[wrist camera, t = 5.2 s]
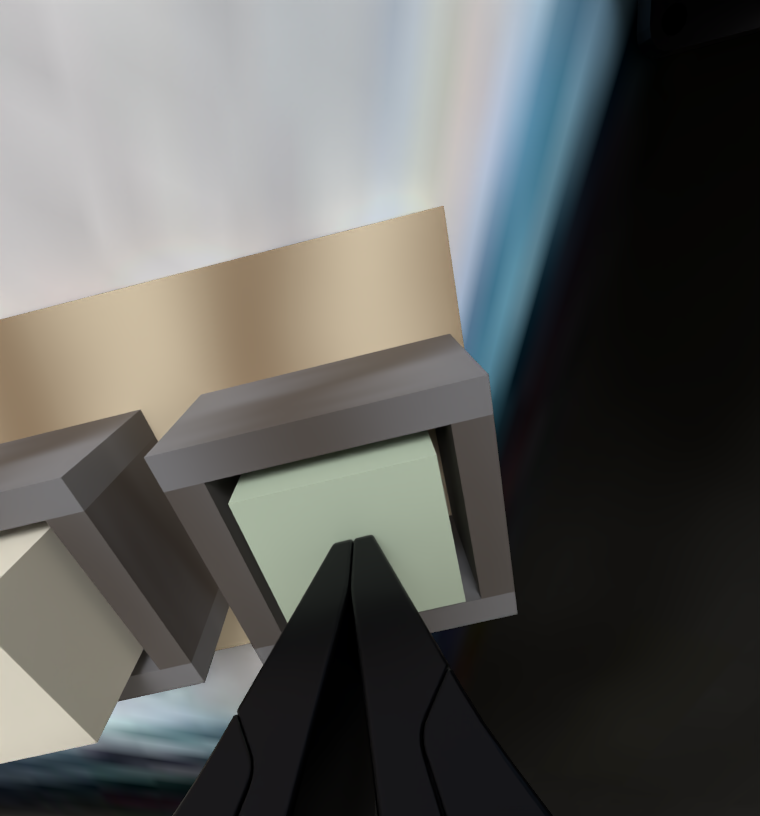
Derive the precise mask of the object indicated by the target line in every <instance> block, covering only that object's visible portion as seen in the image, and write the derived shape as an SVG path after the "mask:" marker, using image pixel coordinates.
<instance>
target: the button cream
mask: <svg viewBox="0 0 760 816" xmlns="http://www.w3.org/2000/svg"><path fill="white" fill-rule="evenodd" d="M142 651H143V647H142V646H141V645H140V643H139V642H138V641H137V640H136V638H135V637H134V636H133V634H132V633H131V632H130V630H129V629H128V628H127V626H126V625H125V624H124V623H123V621H122V620H121V619H120V617H119V616H118V615H117V613H116V612H115V611H114V610H113V608H112V607H111V606H110V604H109V603H108V602H107V600H106V599H105V598H104V597H103V595H102V594H101V593H100V591H99V590H98V589H97V587H96V586H95V585H94V583H93V582H92V581H91V580H90V578H89V577H88V576H87V574H86V573H85V572H84V570H83V569H82V568H81V567H80V565H79V564H78V563H77V561H76V560H75V559H74V557H73V556H72V555H71V554H70V552H69V551H68V550H67V548H66V547H65V546H64V544H63V543H62V542H61V540H60V539H59V538H58V537H57V535H56V534H55V533H54V531H53V530H52V529H51V527H50V526H49V525H48V524H47V522H46V521H41V522H37V523H32V524H28V525H24V526H20V527H16V528H11V529H7V530H3V531H0V764H1V763H6V762H10V761H15V760H20V759H24V758H29V757H34V756H38V755H43V754H47V753H52V752H57V751H61V750H66V749H71V748H75V747H80V746H85V745H89V744H94V743H97V742H98V740H99V738H100V736H101V734H102V732H103V730H104V728H105V726H106V724H107V722H108V720H109V718H110V716H111V714H112V712H113V710H114V708H115V706H116V704H117V702H118V700H119V698H120V696H121V694H122V692H123V689H124V687H125V685H126V683H127V681H128V679H129V677H130V675H131V673H132V671H133V669H134V667H135V665H136V663H137V661H138V659H139V657H140V655H141V653H142Z"/></svg>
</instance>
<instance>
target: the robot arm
mask: <svg viewBox="0 0 760 816" xmlns="http://www.w3.org/2000/svg"><path fill="white" fill-rule="evenodd" d="M664 13H668V14H669V15H670V17H671V18H672V24H673V26H672V30H671V34H670V35H666V33H665V32H664V31H663V28H662V20H663V16H664ZM756 32H760V0H638V13H637V42H638V47H639V49H640V50H641V52H642V54H643V55H645V56H647V57H648V58H662V57H666V56H669V55H673V54H677V53H681V52H685V51H688V50H692V49H696V48H700V47H703V46H707V45H711V44H715V43H718V42H722V41H726V40H730V39H734V38H737V37H741V36H745V35H749V34H752V33H756ZM237 713H238V715H235V716H233V718H232V720H231V722H230V723H229V725H228V727H227V729H226V730H225V732H224V734H223V735H222V737H221V739H220V741H219V742H218V744H217V746H216V747H215V749H214V751H213V752H212V754H211V756H210V757H209V759H208V761H207V762H206V764H205V766H204V767H203V769H202V771H201V772H200V774H199V776H198V777H197V779H196V780H195V782H194V784H193V785H192V787H191V788H190V790H189V791H188V793H187V794H186V796H185V798H184V799H183V801H182V802H181V804H180V805H179V807H178V808H177V810H176V811H175V813H174V814H173V816H375V798H376V806H377V815H378V816H553V815H552V814H551V813H550V811H549V810H548V809H547V807H546V806H545V805H544V803H543V802H542V801H541V799H540V798H539V797H538V795H537V794H536V793H535V791H534V790H533V789H532V787H531V786H530V785H529V783H528V782H527V781H526V779H525V778H524V777H523V775H522V774H521V773H520V772H519V770H518V769H517V768H516V766H515V765H514V764H513V762H512V761H511V759H510V758H509V757H508V755H507V754H506V752H505V751H504V750H503V748H502V747H501V745H500V744H499V743H498V741H497V740H496V738H495V737H494V736H493V734H492V733H491V731H490V730H489V728H488V727H487V726H486V724H485V723H484V721H483V720H482V718H481V716H480V715H479V713H478V712H477V710H476V708H475V707H474V705H473V704H472V702H471V700H470V699H469V697H468V696H467V694H466V692H465V691H464V689H463V687H462V686H461V684H460V682H459V681H458V679H457V677H456V675H455V674H454V672H453V670H451V669H450V666H449V664H448V662H447V660H446V659H445V657H444V655H443V654H442V652H441V650H440V648H439V647H438V645H437V643H436V642H435V640H434V638H433V636H432V635H431V633H430V631H429V630H428V628H427V626H426V624H425V623H424V621H423V619H422V618H421V616H420V614H419V612H418V611H417V609H416V607H415V606H414V604H413V602H412V600H411V599H410V597H409V595H408V594H407V592H406V590H405V588H404V587H403V585H402V583H401V582H400V580H399V578H398V576H397V575H396V573H395V571H394V570H393V568H392V566H391V564H390V563H389V561H388V559H387V558H386V556H385V554H384V552H383V551H382V549H381V547H380V546H379V544H378V542H377V540H376V539H375V537H374V536H373V535H366V536H362V537H358V538H355V540H354V541H353V540H351V539H349V540H345V541H340V542H336V543H334V544H333V545H332V547H331V548H330V550H329V552H328V554H327V555H326V557H325V559H324V561H323V562H322V564H321V566H320V567H319V569H318V571H317V573H316V574H315V576H314V578H313V580H312V581H311V583H310V585H309V587H308V588H307V590H306V592H305V594H304V595H303V597H302V599H301V600H300V602H299V604H298V606H297V607H296V609H295V611H294V613H293V614H292V616H291V618H290V620H289V621H288V623H287V625H286V626H285V628H284V630H283V632H282V633H281V635H280V637H279V639H278V640H277V642H276V644H275V646H274V647H273V649H272V651H271V653H270V654H269V656H268V658H267V659H266V661H265V663H264V665H263V666H262V668H261V670H260V672H259V673H258V675H257V677H256V679H255V680H254V682H253V684H252V685H251V687H250V689H249V691H248V692H247V694H246V696H245V698H244V699H243V701H242V703H241V705H240V706H239V708H238V710H237Z"/></svg>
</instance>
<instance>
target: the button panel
mask: <svg viewBox="0 0 760 816" xmlns="http://www.w3.org/2000/svg"><path fill="white" fill-rule="evenodd" d="M425 430H427V431H428V434H429V436H430V439H431V442H432V444H433V447H434V449H435V452H436V455H437V459H438V464H439V469H440V474H441V480H442V485H443V490H444V495H445V500H446V505H447V510H448V515H449V520H450V525H451V530H452V535H453V540H454V545H455V550H456V555H457V560H458V565H459V570H460V575H461V580H462V585H463V590H464V595H465V600H466V602H461V603H457V604H452V605H448V606H443V607H439V608H434V609H430V610H425V611H421V612H419V614H420V616H421V618H422V619H423V621H424V623H425V624H426V626H427V628H428V630H429V631H430V633H433V632H437V631H442V630H447V629H451V628H456V627H460V626H465V625H469V624H474V623H479V622H483V621H488V620H492V619H497V618H501V617H506V616H511V615H515V614H517V606H516V598H515V590H514V582H513V573H512V565H511V557H510V548H509V540H508V532H507V523H506V515H505V507H504V499H503V490H502V482H501V474H500V465H499V457H498V449H497V440H496V432H495V424H494V416H493V407H492V399H491V391H490V382H489V375H488V373H487V372H486V371H485V370H484V369H483V368H482V367H481V366H480V365H479V364H478V363H477V362H476V361H475V360H474V359H473V358H472V357H471V356H470V354H469V353H468V352H467V351H466V350H465V349H464V344H463V337H462V330H461V323H460V316H459V309H458V302H457V295H456V288H455V281H454V274H453V267H452V260H451V254H450V247H449V240H448V233H447V226H446V219H445V212H444V206H441V207H437V208H433V209H429V210H425V211H421V212H417V213H414V214H410V215H406V216H402V217H398V218H394V219H390V220H386V221H382V222H378V223H375V224H371V225H367V226H363V227H359V228H355V229H351V230H347V231H343V232H340V233H336V234H332V235H328V236H324V237H320V238H316V239H312V240H308V241H305V242H301V243H297V244H293V245H289V246H285V247H281V248H277V249H273V250H270V251H266V252H262V253H258V254H254V255H250V256H246V257H242V258H238V259H234V260H231V261H227V262H223V263H219V264H215V265H211V266H207V267H203V268H199V269H196V270H192V271H188V272H184V273H180V274H176V275H172V276H168V277H164V278H161V279H157V280H153V281H149V282H145V283H141V284H137V285H133V286H129V287H126V288H122V289H118V290H114V291H110V292H106V293H102V294H98V295H94V296H90V297H87V298H83V299H79V300H75V301H71V302H67V303H63V304H59V305H55V306H52V307H48V308H44V309H40V310H36V311H32V312H28V313H24V314H20V315H17V316H13V317H9V318H5V319H1V320H0V531H3V530H7V529H11V528H16V527H20V526H24V525H28V524H32V523H37V522H41V521H46V522H47V524H48V525H49V526H50V527H51V529H52V530H53V531H54V533H55V534H56V535H57V537H58V538H59V539H60V540H61V542H62V543H63V544H64V546H65V547H66V548H67V550H68V551H69V552H70V554H71V555H72V556H73V557H74V559H75V560H76V561H77V563H78V564H79V565H80V567H81V568H82V569H83V570H84V572H85V573H86V574H87V576H88V577H89V578H90V580H91V581H92V582H93V583H94V585H95V586H96V587H97V589H98V590H99V591H100V593H101V594H102V595H103V597H104V598H105V599H106V600H107V602H108V603H109V604H110V606H111V607H112V608H113V610H114V611H115V612H116V613H117V615H118V616H119V617H120V619H121V620H122V621H123V623H124V624H125V625H126V626H127V628H128V629H129V630H130V632H131V633H132V634H133V636H134V637H135V638H136V640H137V641H138V642H139V643H140V645H141V646H142V647H143V651H142V653H141V655H140V657H139V659H138V661H137V663H136V665H135V667H134V669H133V671H132V673H131V675H130V677H129V679H128V681H127V683H126V685H125V687H124V689H123V692H122V694H121V696H120V698H119V700H118V701H122V700H127V699H131V698H136V697H140V696H145V695H149V694H154V693H159V692H163V691H168V690H172V689H177V688H181V687H186V686H191V685H195V684H200V683H204V682H205V680H206V677H207V674H208V671H209V668H210V665H211V662H212V659H213V655H214V652H215V651H217V650H222V649H226V648H231V647H235V646H240V645H244V644H249V643H251V644H252V646H253V648H254V649H255V651H256V653H257V654H258V656H259V658H260V660H261V661H262V663H263V665H264V663H265V661H266V659H267V658H268V656H269V654H270V653H271V651H272V649H273V647H274V646H275V644H276V642H277V640H278V639H279V637H280V635H281V633H282V632H283V630H284V628H285V626H286V625H287V621H286V619H285V617H284V615H283V613H282V611H281V609H280V607H279V605H278V603H277V601H276V599H275V597H274V595H273V593H272V591H271V589H270V587H269V585H268V583H267V581H266V579H265V577H264V575H263V573H262V571H261V569H260V567H259V565H258V563H257V561H256V559H255V557H254V555H253V553H252V551H251V549H250V547H249V545H248V543H247V541H246V539H245V537H244V535H243V533H242V531H241V529H240V527H239V525H238V523H237V521H236V519H235V517H234V515H233V513H232V511H231V509H230V507H229V505H228V503H229V501H230V498H231V496H232V494H233V492H234V489H235V487H236V485H237V483H238V481H239V478H240V476H241V474H243V473H247V472H252V471H256V470H260V469H264V468H269V467H273V466H277V465H281V464H285V463H290V462H294V461H298V460H302V459H306V458H311V457H315V456H319V455H323V454H328V453H332V452H336V451H340V450H344V449H349V448H353V447H357V446H361V445H366V444H370V443H374V442H378V441H382V440H387V439H391V438H395V437H399V436H403V435H408V434H412V433H416V432H420V431H425Z"/></svg>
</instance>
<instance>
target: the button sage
mask: <svg viewBox="0 0 760 816" xmlns="http://www.w3.org/2000/svg"><path fill="white" fill-rule="evenodd" d="M228 505H229V507H230V509H231V511H232V513H233V515H234V517H235V519H236V521H237V523H238V525H239V527H240V529H241V531H242V533H243V535H244V537H245V539H246V541H247V543H248V545H249V547H250V549H251V551H252V553H253V555H254V557H255V559H256V561H257V563H258V565H259V567H260V569H261V571H262V573H263V575H264V577H265V579H266V581H267V583H268V585H269V587H270V589H271V591H272V593H273V595H274V597H275V599H276V601H277V603H278V605H279V607H280V609H281V611H282V613H283V615H284V617H285V619H286V621H287V623H288V621H289V620H290V618H291V616H292V614H293V613H294V611H295V609H296V607H297V606H298V604H299V602H300V600H301V599H302V597H303V595H304V594H305V592H306V590H307V588H308V587H309V585H310V583H311V581H312V580H313V578H314V576H315V574H316V573H317V571H318V569H319V567H320V566H321V564H322V562H323V561H324V559H325V557H326V555H327V554H328V552H329V550H330V548H331V547H332V545H333V544H334V543H336V542H340V541H345V540H349V539H351V540H353V541H354V540H355V538H358V537H362V536H366V535H373V536H374V537H375V539H376V540H377V542H378V544H379V546H380V547H381V549H382V551H383V552H384V554H385V556H386V558H387V559H388V561H389V563H390V564H391V566H392V568H393V570H394V571H395V573H396V575H397V576H398V578H399V580H400V582H401V583H402V585H403V587H404V588H405V590H406V592H407V594H408V595H409V597H410V599H411V600H412V602H413V604H414V606H415V607H416V609H417V611H418V612H421V611H425V610H430V609H434V608H439V607H443V606H448V605H452V604H457V603H461V602H466V600H465V595H464V590H463V585H462V580H461V575H460V570H459V565H458V560H457V555H456V550H455V545H454V540H453V535H452V530H451V525H450V520H449V515H448V510H447V505H446V500H445V495H444V490H443V485H442V480H441V474H440V469H439V464H438V459H437V455H436V452H435V449H434V447H433V444H432V442H431V439H430V436H429V434H428V431H427V430H425V431H420V432H416V433H412V434H408V435H403V436H399V437H395V438H391V439H387V440H382V441H378V442H374V443H370V444H366V445H361V446H357V447H353V448H349V449H344V450H340V451H336V452H332V453H328V454H323V455H319V456H315V457H311V458H306V459H302V460H298V461H294V462H290V463H285V464H281V465H277V466H273V467H269V468H264V469H260V470H256V471H252V472H247V473H243V474H241V476H240V478H239V481H238V483H237V485H236V487H235V489H234V492H233V494H232V496H231V498H230V501H229V503H228Z"/></svg>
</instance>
